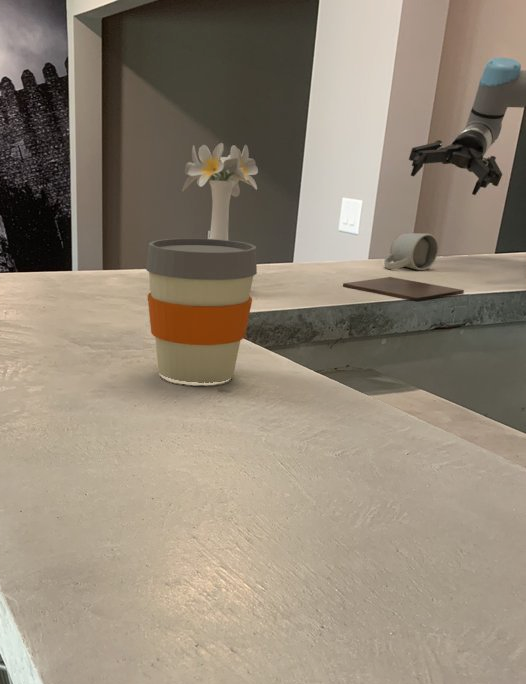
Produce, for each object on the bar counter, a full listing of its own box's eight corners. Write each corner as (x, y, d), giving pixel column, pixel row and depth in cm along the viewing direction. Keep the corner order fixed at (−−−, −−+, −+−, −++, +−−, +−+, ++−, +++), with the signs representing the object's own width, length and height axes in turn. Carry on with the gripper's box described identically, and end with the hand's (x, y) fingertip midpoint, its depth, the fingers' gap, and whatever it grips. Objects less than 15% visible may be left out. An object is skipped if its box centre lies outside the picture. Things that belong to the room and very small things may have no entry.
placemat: (463, 293, 146) (464, 290, 146) (417, 301, 138) (417, 297, 137) (389, 279, 158) (389, 276, 158) (342, 286, 150) (342, 283, 149)
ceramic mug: (409, 264, 178) (414, 229, 175) (435, 269, 172) (441, 233, 168) (374, 267, 174) (379, 231, 170) (400, 272, 167) (405, 236, 164)
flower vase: (244, 283, 150) (255, 143, 139) (252, 301, 133) (265, 144, 123) (178, 281, 150) (184, 141, 140) (178, 299, 134) (184, 142, 123)
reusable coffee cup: (254, 392, 86) (266, 254, 80) (144, 390, 86) (146, 251, 80) (241, 362, 98) (250, 239, 91) (143, 360, 97) (145, 237, 91)
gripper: (517, 178, 175) (495, 213, 162) (413, 148, 183) (384, 179, 170) (531, 145, 170) (510, 178, 157) (423, 115, 177) (394, 144, 164)
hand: (444, 179), depth 163 cm, fingers open, 13 cm apart
